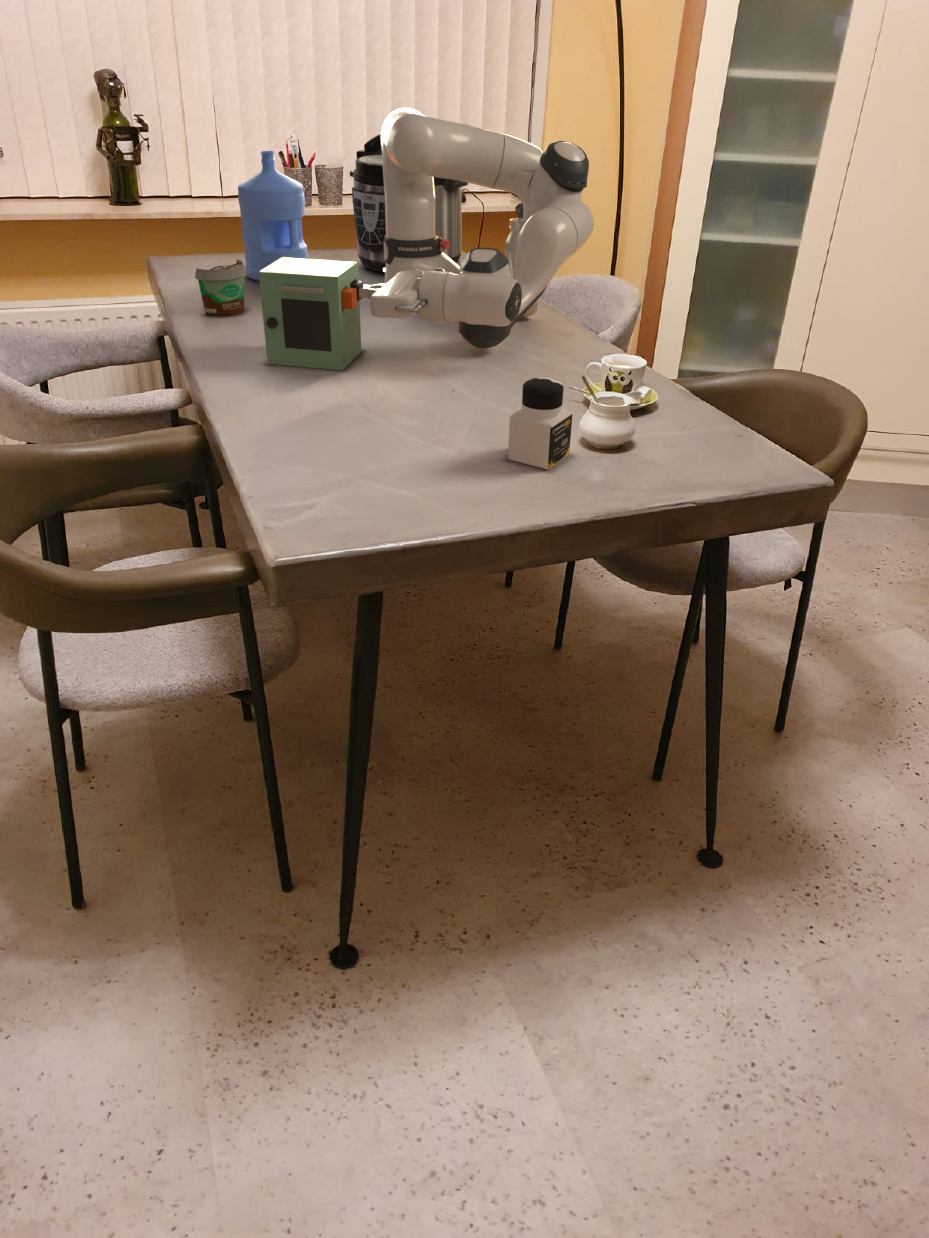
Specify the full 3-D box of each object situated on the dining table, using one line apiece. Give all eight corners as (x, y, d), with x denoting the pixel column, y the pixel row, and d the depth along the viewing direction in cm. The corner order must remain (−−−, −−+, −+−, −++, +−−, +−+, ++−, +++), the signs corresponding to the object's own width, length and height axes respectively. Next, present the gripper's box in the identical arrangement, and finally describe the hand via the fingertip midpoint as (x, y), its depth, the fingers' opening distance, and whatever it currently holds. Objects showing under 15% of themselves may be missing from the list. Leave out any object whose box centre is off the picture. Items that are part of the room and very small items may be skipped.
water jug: (232, 276, 238) (219, 152, 223) (277, 265, 249) (267, 145, 233) (278, 286, 230) (267, 158, 215) (322, 274, 241) (315, 151, 226)
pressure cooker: (338, 257, 257) (331, 124, 240) (436, 249, 267) (436, 121, 250) (374, 283, 234) (369, 139, 217) (480, 274, 244) (483, 135, 227)
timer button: (363, 297, 182) (362, 281, 181) (358, 301, 180) (358, 285, 178) (348, 296, 183) (347, 280, 181) (343, 300, 180) (342, 284, 179)
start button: (357, 305, 178) (356, 288, 176) (352, 309, 175) (351, 292, 174) (341, 304, 178) (340, 287, 176) (336, 308, 176) (335, 291, 174)
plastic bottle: (518, 321, 207) (513, 222, 198) (503, 316, 213) (497, 220, 203) (543, 316, 210) (539, 218, 200) (528, 312, 215) (523, 216, 205)
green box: (361, 351, 190) (357, 262, 181) (340, 372, 179) (335, 278, 170) (289, 345, 192) (282, 257, 183) (264, 366, 181) (255, 273, 172)
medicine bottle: (548, 470, 143) (553, 393, 137) (507, 460, 146) (510, 383, 140) (570, 455, 148) (576, 379, 142) (529, 444, 152) (533, 370, 145)
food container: (219, 322, 205) (213, 273, 200) (200, 316, 208) (193, 268, 203) (262, 309, 214) (257, 263, 208) (243, 305, 217) (238, 258, 211)
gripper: (418, 329, 171) (344, 323, 173) (444, 299, 188) (376, 294, 190) (418, 293, 168) (342, 287, 170) (445, 266, 184) (375, 261, 187)
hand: (361, 291), depth 180 cm, fingers closed, pressing on timer button
